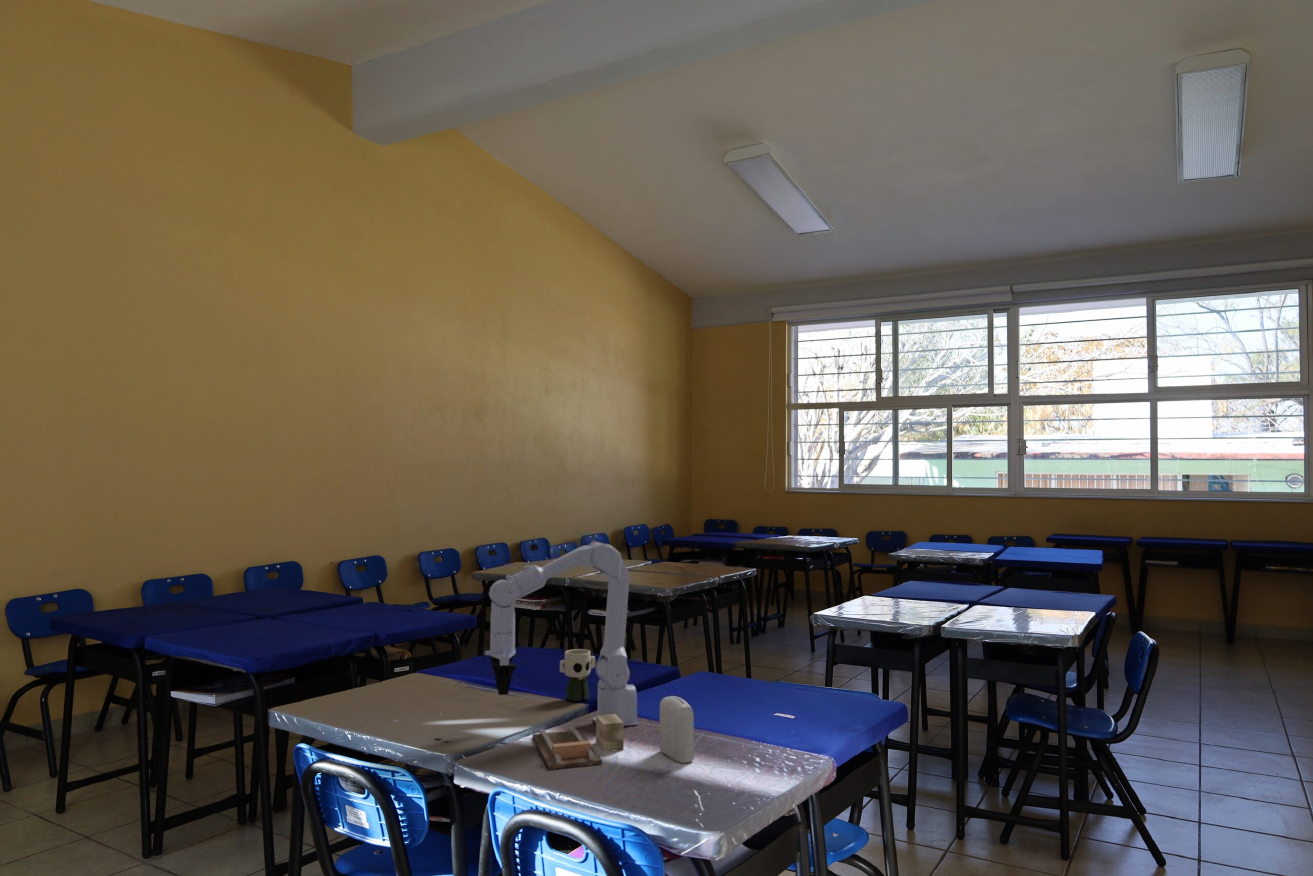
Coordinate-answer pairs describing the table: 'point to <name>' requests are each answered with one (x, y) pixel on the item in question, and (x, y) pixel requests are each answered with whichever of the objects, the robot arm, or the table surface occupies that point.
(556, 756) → the rail
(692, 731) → the photo printer
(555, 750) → the tan wooden bar
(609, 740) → the block
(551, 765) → the mounting board
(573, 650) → the character mug
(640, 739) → the table surface
